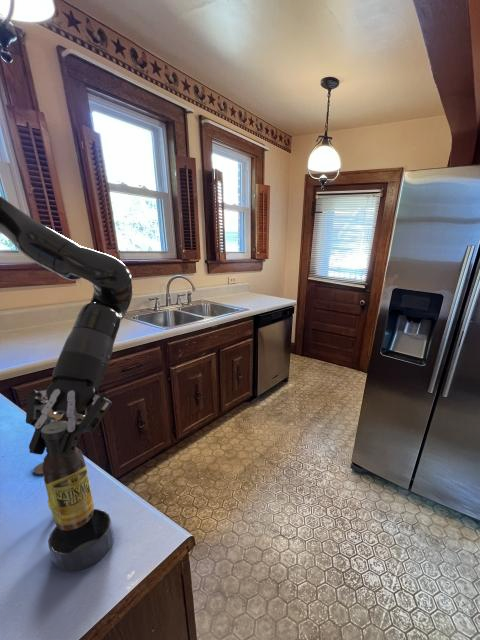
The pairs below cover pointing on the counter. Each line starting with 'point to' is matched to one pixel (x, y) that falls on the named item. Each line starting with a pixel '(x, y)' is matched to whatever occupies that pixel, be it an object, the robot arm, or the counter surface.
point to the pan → (82, 543)
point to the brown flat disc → (38, 469)
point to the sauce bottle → (66, 481)
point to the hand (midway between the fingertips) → (49, 454)
